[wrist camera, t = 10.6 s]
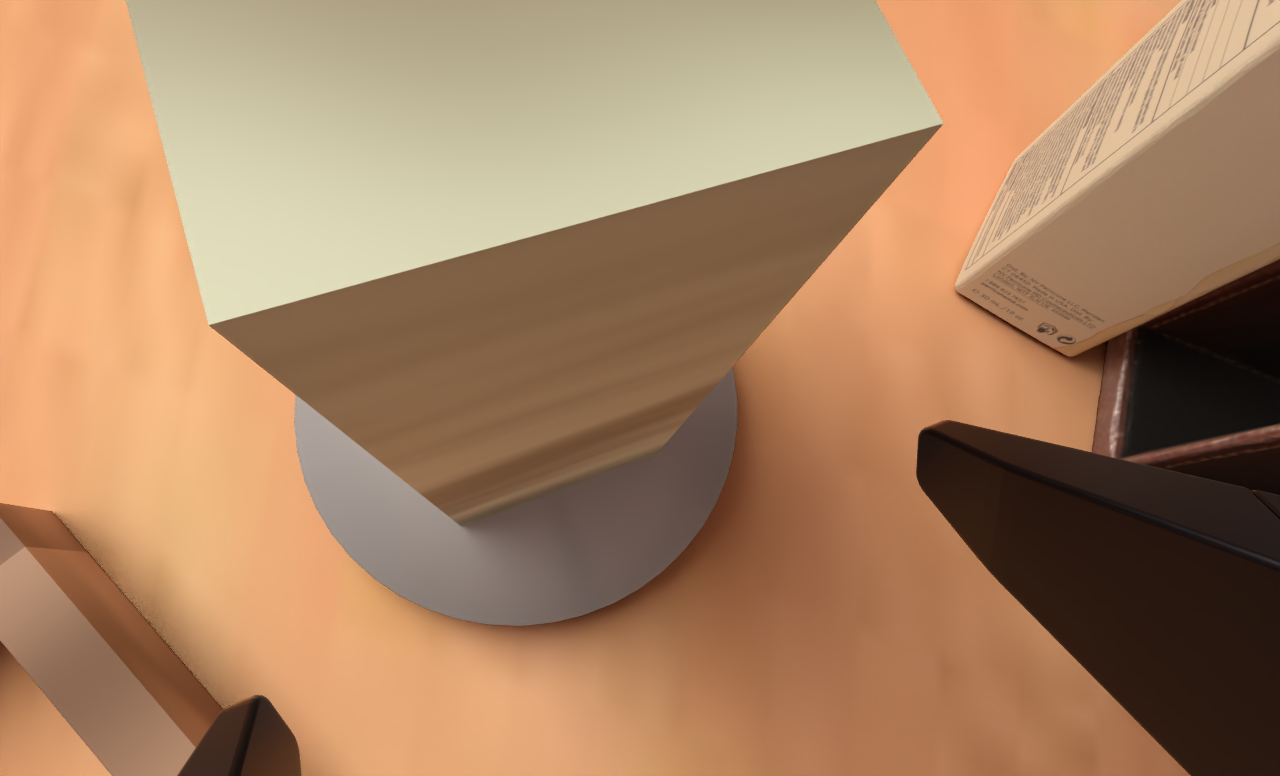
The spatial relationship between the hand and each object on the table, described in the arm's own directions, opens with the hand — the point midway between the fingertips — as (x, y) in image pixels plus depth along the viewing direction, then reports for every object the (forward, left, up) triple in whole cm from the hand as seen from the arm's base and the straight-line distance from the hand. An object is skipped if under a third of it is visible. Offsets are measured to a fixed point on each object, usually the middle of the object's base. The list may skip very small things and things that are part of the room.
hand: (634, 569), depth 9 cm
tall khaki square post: (+5, 0, -8) cm, 9 cm away
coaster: (+5, 0, -9) cm, 10 cm away
